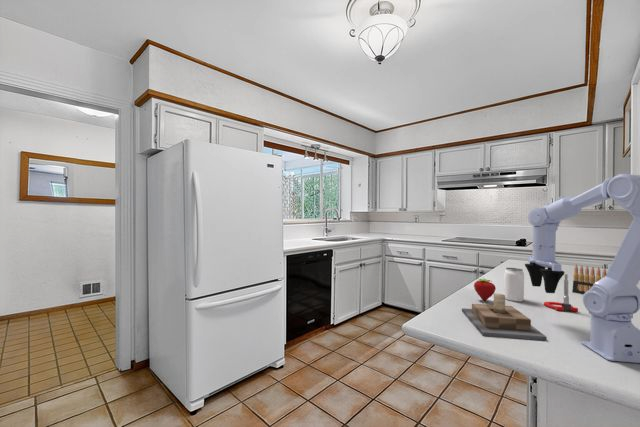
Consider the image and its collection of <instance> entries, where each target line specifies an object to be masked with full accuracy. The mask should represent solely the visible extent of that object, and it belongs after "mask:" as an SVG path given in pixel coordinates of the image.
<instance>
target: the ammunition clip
mask: <svg viewBox="0 0 640 427" xmlns="http://www.w3.org/2000/svg"><path fill="white" fill-rule="evenodd" d="M573 270H574V272H573V280H572V289H571V290H572V293H574V294H578V295H579V294H580V295H584V293H585V292H586V291H588V290H590V289H591V288H592V286H593V284H594V283H595V282H597V281H599V280H600V279H602V278H604V277H605V276H606V274H607V269H606V268H605V267H603V270H602V275H601V269H600V267H599V266H598V267H597V268H596V273H595V268H594V266H591V268H589V266H588V265H586V266H585V269H584V266H583V265H582V264H581V265H580V267H578V265H577V264H575V266H574V268H573ZM595 274H596V275H595Z"/></svg>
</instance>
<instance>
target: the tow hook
mask: <svg viewBox="0 0 640 427" xmlns="http://www.w3.org/2000/svg"><path fill="white" fill-rule="evenodd" d="M568 278H569V276H568V274H567V273H564V279H563V302H559V301H544V302H543V306H545V307H547V308H551V309H554V310H555V311H558V312H572V311H573V312H574V313H576V312H577V313H578V312H579V308H578V307H575V306H573V305H572V304H571V303H570V296H569V280H568Z"/></svg>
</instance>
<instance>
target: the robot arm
mask: <svg viewBox="0 0 640 427" xmlns="http://www.w3.org/2000/svg"><path fill="white" fill-rule="evenodd" d="M610 199H612V200H613V201H615V203H617V205H619V206H620V207H622V208H623V209H624V210H626V211H627V212H628V213H629V215H631V217H632V218H633V219H632V221H631V223H630V225H629V227H628V229H627V232H626V234H625V236H624V238H623V240H622V242H621V243H620V246H619V248H618V250H617V252H616V254H615V256H614V258H613V260H612V262H611V264H610V266H609V268H608V271H606V276H605V277H604V278H602V277H601V279H600V280H599V281H597V282H596V281H595V283H594V284H593V286H592V288H591V289H590V288H589V289H590V290H588V291H586V292H585V293H584V294H582V295H583V296H582V303H583V306H584V307H585V309H586V310H587V311H588V314H589V315H590V328H589V330H590V331H589V335H590V336H589V341H587V340H582V341H581V342H580V343H581V344H583V345H584V346H585V347H587V348H589V349H590V350H591V351H594V352H595V353H596V354H598V355H599V356H601V357H602V358H603V359H606V360H607V361H612V362H625V363H637V364H640V329H639V328H638V327H636V326H635V325H634V324H633V321H632V319H634V315H635V314H636V313H638V312H639V311H640V288H639V287H638V284H639V282H640V174H629V173H620V174H616V175H615V176H613V177H611V178H607V179H604V181H603V182H602V183H600V184H598V185H596V186H594V187H591V188H590V189H588V190H586V191H584V192H582V193H579V195H576V196H574V197H573V196H564V195H563V196H562V195H561V196H559V197H558V200H555V201H553V202H551V203H549V202H548V203H545V204H544V205H545V206H542V207H539V206H536V207H533V208H532V209H531V210H530V211H529V212H528V216H527V218H528V221H529V223H530V225H532V252H531V253H532V256H531V255H530V256H528V257H527V261H528V262H527V263H525V264H524V266H525V268H526V270H527V271H528V274H529V279H530V281H531V285H532V287H541V285H542V282H543V283H544V291H545V293H546V294H555V293H556V290H557V287H558V285H559V282H560V280H561V279H562V277H563V276H565V274H566V272H565V271H564V270H562V264H561V263H558V261H557V260H556V234H557V230H558V228H559V227H558V226H559V225H560V223H561V222H562V221H565V220H567V219H570V218H572V217H575V216H578V215H579V214H580V213H581V212H582V209H583V208H587V207H589V206H592V205H595V204H599V203H601V202H603V201H604V202H605V201H607V200H610Z"/></svg>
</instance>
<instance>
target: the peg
mask: <svg viewBox="0 0 640 427" xmlns="http://www.w3.org/2000/svg"><path fill="white" fill-rule="evenodd" d="M493 305H494V313H499V314H505V306H506V299H505V295H504V293H494V294H493Z"/></svg>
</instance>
